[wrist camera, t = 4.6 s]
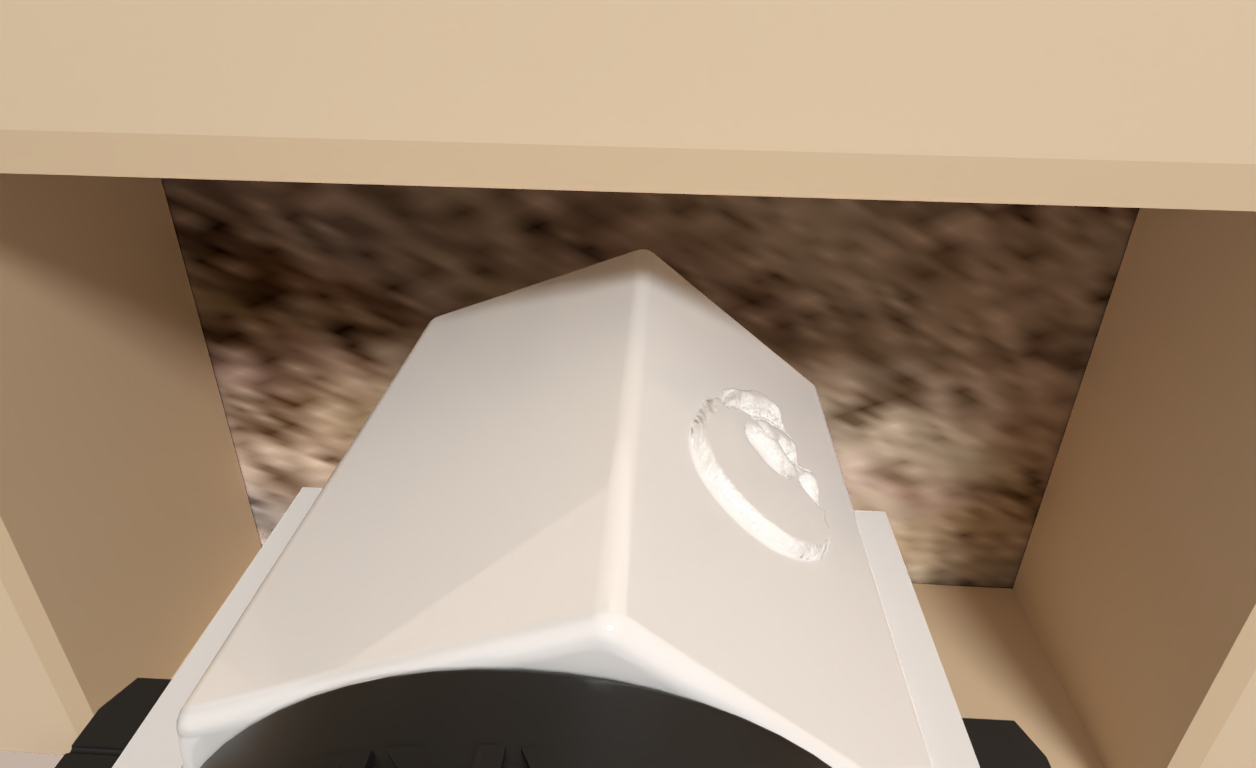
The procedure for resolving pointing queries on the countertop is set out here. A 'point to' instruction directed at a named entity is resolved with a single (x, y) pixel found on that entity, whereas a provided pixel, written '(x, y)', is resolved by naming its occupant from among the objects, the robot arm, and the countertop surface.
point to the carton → (643, 163)
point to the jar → (572, 560)
